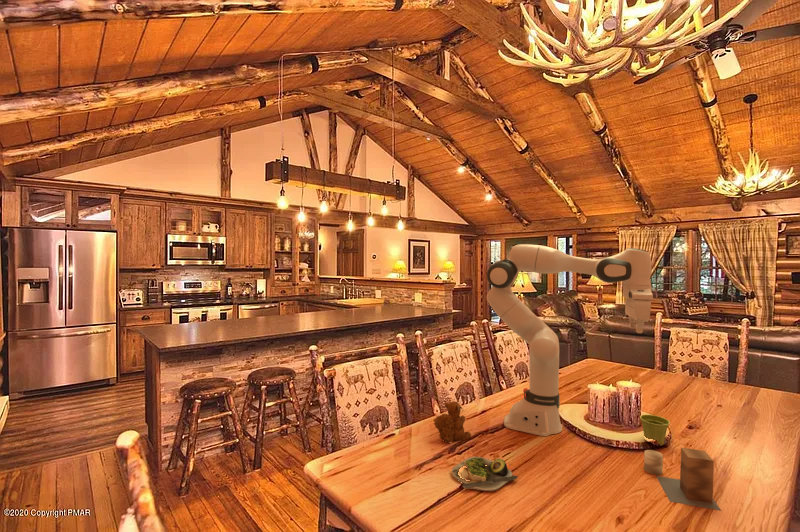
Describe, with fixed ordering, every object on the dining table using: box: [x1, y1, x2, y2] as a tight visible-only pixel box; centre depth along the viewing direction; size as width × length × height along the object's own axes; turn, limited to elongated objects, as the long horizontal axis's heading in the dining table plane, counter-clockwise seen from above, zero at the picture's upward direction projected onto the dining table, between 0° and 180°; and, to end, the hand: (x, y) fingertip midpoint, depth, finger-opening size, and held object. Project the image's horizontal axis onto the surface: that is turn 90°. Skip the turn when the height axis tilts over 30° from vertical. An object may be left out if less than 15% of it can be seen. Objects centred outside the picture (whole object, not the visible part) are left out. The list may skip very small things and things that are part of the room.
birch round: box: [643, 449, 664, 476], centre depth 128 cm, size 5×5×6 cm
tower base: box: [679, 467, 714, 503], centre depth 115 cm, size 6×6×6 cm
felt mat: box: [655, 475, 722, 512], centre depth 116 cm, size 12×14×1 cm
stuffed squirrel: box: [433, 400, 472, 443], centre depth 150 cm, size 10×14×13 cm
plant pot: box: [639, 414, 671, 447], centre depth 148 cm, size 9×9×9 cm
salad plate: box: [451, 456, 518, 492], centre depth 123 cm, size 19×18×5 cm
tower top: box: [680, 447, 715, 483], centre depth 115 cm, size 6×6×6 cm
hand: (635, 330), depth 146 cm, fingers open, 8 cm apart
